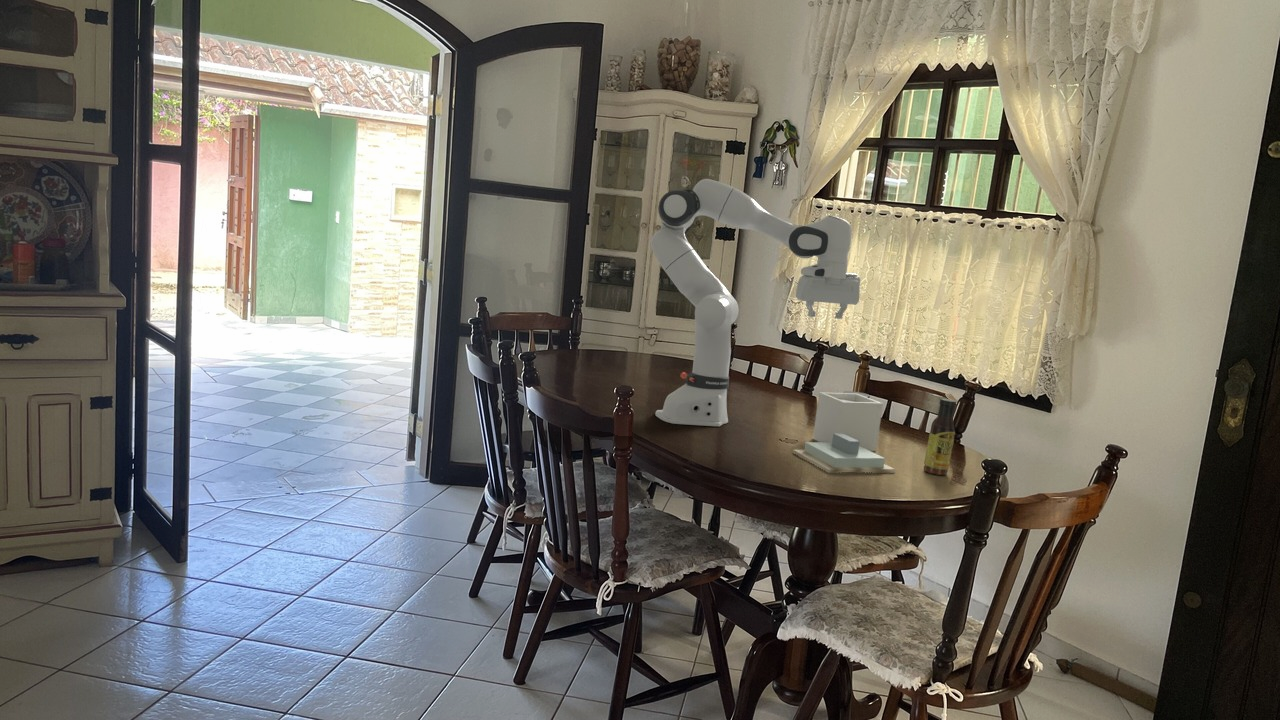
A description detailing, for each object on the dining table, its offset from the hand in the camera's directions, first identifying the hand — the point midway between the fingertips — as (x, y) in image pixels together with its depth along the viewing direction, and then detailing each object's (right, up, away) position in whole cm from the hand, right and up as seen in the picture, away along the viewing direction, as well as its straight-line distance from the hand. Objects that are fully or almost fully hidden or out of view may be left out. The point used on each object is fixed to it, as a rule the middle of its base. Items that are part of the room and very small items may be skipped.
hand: (825, 317), depth 255 cm
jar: (+11, -35, +11) cm, 38 cm away
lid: (-2, -39, -30) cm, 49 cm away
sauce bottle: (+23, -43, -30) cm, 57 cm away
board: (-2, -40, -29) cm, 50 cm away
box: (+4, -37, -9) cm, 39 cm away
